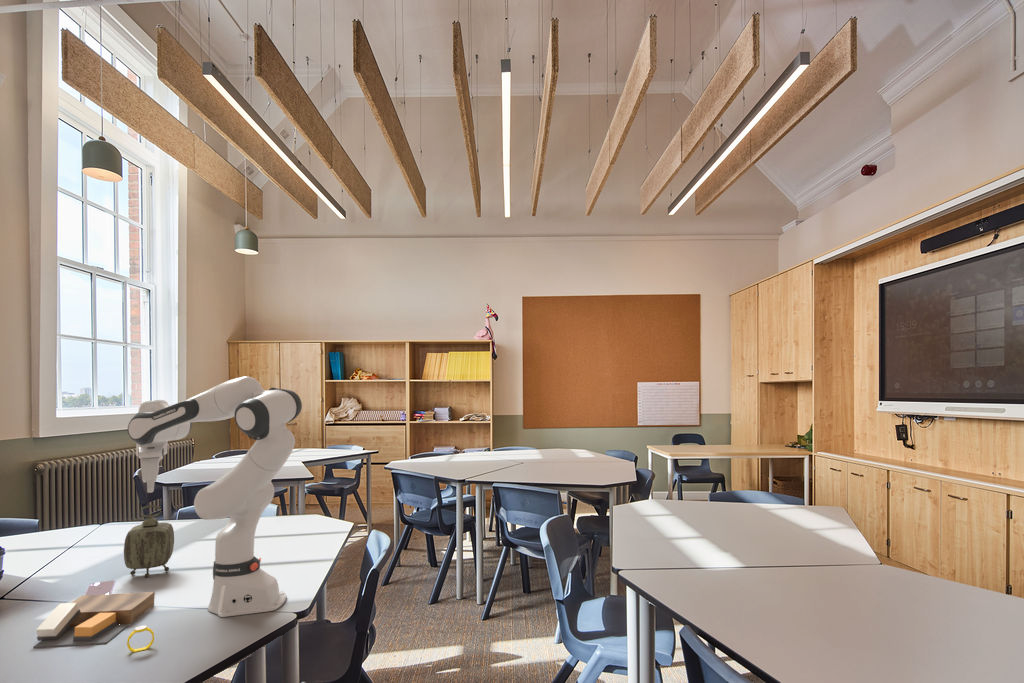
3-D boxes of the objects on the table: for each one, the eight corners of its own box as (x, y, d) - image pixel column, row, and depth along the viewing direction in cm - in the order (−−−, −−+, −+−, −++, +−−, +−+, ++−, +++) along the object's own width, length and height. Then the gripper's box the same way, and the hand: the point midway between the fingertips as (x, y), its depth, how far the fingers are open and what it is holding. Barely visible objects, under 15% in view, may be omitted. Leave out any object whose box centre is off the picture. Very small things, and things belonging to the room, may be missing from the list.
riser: (154, 604, 183) (154, 591, 183) (130, 623, 169) (131, 609, 169) (81, 608, 180) (82, 595, 180) (52, 628, 166) (52, 613, 166)
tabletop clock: (173, 569, 216) (175, 501, 217) (168, 577, 207) (170, 506, 209) (128, 574, 211) (130, 504, 212) (121, 582, 202) (123, 510, 203)
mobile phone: (82, 597, 187) (89, 582, 200) (82, 600, 187) (89, 585, 200) (110, 593, 191) (116, 579, 204) (110, 596, 191) (116, 582, 204)
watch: (127, 656, 150) (126, 633, 150) (127, 652, 152) (126, 629, 152) (154, 648, 153) (153, 626, 153) (154, 644, 156) (153, 622, 156)
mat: (128, 625, 168) (128, 624, 168) (106, 643, 156) (106, 642, 156) (61, 629, 165) (61, 627, 165) (33, 647, 154) (33, 646, 154)
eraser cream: (80, 612, 167) (78, 602, 166) (57, 640, 158) (54, 629, 157) (62, 612, 167) (59, 602, 166) (37, 640, 157) (34, 630, 156)
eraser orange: (116, 625, 167) (117, 612, 167) (91, 641, 157) (91, 627, 157) (99, 625, 167) (99, 612, 167) (73, 641, 157) (73, 627, 157)
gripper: (142, 446, 199) (141, 487, 198) (138, 453, 181) (136, 498, 180) (164, 445, 202) (162, 485, 201) (161, 452, 184) (160, 496, 183)
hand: (150, 491), depth 190 cm, fingers closed
